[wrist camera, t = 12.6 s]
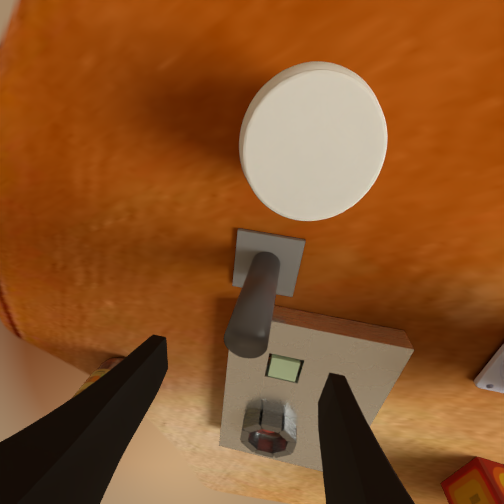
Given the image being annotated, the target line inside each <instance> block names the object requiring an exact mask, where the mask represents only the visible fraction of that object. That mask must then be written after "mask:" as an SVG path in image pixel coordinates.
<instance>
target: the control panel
mask: <svg viewBox="0 0 504 504" xmlns="http://www.w3.org/2000/svg"><path fill="white" fill-rule="evenodd" d="M237 300H238V299H237ZM236 303H237V302H236ZM233 311H234V310H233ZM413 352H414V348H413V346H412V344H411V342H410V340H409V339H408V337H407V335H406V333H405V331H403V330H398V329H393V328H388V327H383V326H378V325H372V324H367V323H362V322H357V321H352V320H347V319H342V318H336V317H331V316H326V315H321V314H316V313H311V312H306V311H300V310H295V309H290V308H285V307H280V306H275V305H274V309H273V316H272V322H271V329H270V335H269V341H268V348H267V350H266V352H265V353H264V354H263V355H262V356H260V357H257V358H251V359H250V358H242V357H239V356H237V355H235V354H233V353H232V352H231V351H230V350H229V353H228V363H227V372H226V382H225V392H224V402H223V412H222V422H221V431H220V441H219V446H223V447H227V448H231V449H235V450H239V451H243V452H247V453H251V454H255V455H259V456H263V457H267V458H271V459H275V460H279V461H283V462H287V463H291V464H295V465H299V466H302V467H306V468H310V469H314V470H318V471H322V472H323V469H322V460H321V451H320V442H319V432H318V401H319V398H320V396H321V393H322V390H323V388H324V385H325V383H326V380H327V377H328V375H329V372H330V373H335V374H339V375H344V376H345V377H346V379H347V381H348V384H349V386H350V388H351V390H352V392H353V394H354V396H355V399H356V401H357V403H358V405H359V407H360V409H361V411H362V413H363V415H364V417H365V419H366V421H367V423H368V425H369V427H370V425H371V423H372V422H373V420H374V418H375V417H376V415H377V413H378V411H379V410H380V408H381V406H382V405H383V403H384V401H385V399H386V398H387V396H388V394H389V393H390V391H391V389H392V387H393V386H394V384H395V382H396V381H397V379H398V377H399V375H400V374H401V372H402V370H403V369H404V367H405V365H406V363H407V362H408V360H409V358H410V357H411V355H412V353H413ZM269 353H271V354H276V355H281V356H286V357H290V358H295V359H300V366H299V370H298V373H297V376H296V380H295V382H293V381H289V380H284V379H280V378H275V377H271V376H268V373H269V364H270V359H268V357H269ZM262 429H264V430H268V431H272V432H274V433H268V432H265V431H263V430H262Z"/></svg>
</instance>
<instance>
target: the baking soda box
mask: <svg viewBox="0 0 504 504" xmlns="http://www.w3.org/2000/svg"><path fill="white" fill-rule="evenodd" d="M441 486H442V488H443V490H444V493H445V495H446V498H447V500H448V503H449V504H504V465H503V464H500V463H497V462H493V461H490V460H487V459H484V458H480V457H475V458H474V459H473V460H471V461H470V462H469V463H467V464H466V465H465V466H463V467H462V468H461V469H459V470H458V471H457V472H455V473H454V474H453V475H451V476H450V477H448V478H447V479H446V480H444V481H443V482H442V483H441Z"/></svg>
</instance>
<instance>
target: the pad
mask: <svg viewBox="0 0 504 504" xmlns="http://www.w3.org/2000/svg"><path fill="white" fill-rule="evenodd" d="M299 366H300V359H295V358H290V357H286V356H281V355H276V354H271V357H270V364H269V373H268V376H271V377H275V378H280V379H284V380H289V381H293V382H295V380H296V376H297V373H298V370H299Z"/></svg>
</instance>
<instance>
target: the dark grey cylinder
mask: <svg viewBox="0 0 504 504" xmlns="http://www.w3.org/2000/svg"><path fill="white" fill-rule="evenodd" d="M279 271H280V261H279V259H278V257H277V256H276V255H274V254H273V253H271V252H260V253H258V254H256V255H255V256H254V258H253V260H252V263H251V266H250V268H249V271H248V273H247V276H246V279H245V281H244V284H243V287H242V289H241V292H240V295H239V297H238V300H237V303H236V305H235V308H234V311H233V313H232V316H231V319H230V321H229V324H228V327H227V329H226V332H225V335H224V342H225V345H226V347H227V348H228V349H229V350H230V351H231V352H232V353H233V354H235V355H237V356H239V357H242V358H250V359H251V358H257V357H260V356H262V355H263V354H264V353H265V352H266V350H267V348H268V341H269V335H270V329H271V322H272V316H273V309H274V303H275V297H276V290H277V284H278V278H279Z"/></svg>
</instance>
